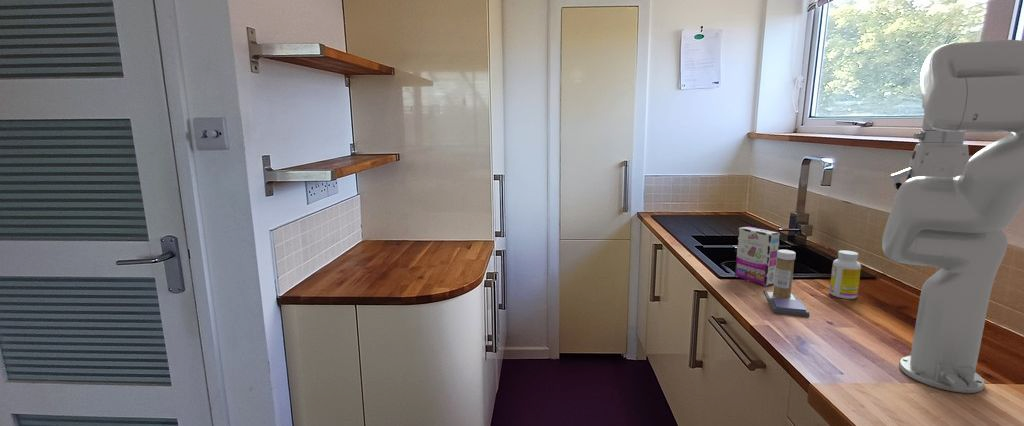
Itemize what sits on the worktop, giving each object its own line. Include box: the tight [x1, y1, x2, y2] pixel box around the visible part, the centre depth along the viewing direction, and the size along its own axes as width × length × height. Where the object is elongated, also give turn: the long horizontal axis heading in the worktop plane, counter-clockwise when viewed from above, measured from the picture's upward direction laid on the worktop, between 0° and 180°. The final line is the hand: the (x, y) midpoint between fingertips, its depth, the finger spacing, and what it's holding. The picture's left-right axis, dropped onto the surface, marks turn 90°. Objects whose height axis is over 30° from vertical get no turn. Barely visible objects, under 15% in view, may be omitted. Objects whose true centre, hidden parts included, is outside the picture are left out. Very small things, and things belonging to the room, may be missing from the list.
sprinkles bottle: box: [773, 249, 796, 299], centre depth 135 cm, size 5×5×13 cm
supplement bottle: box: [829, 249, 862, 300], centre depth 137 cm, size 7×7×13 cm
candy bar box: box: [734, 226, 781, 287], centre depth 150 cm, size 11×5×16 cm, turn 27°
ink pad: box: [768, 298, 811, 318], centre depth 128 cm, size 8×8×2 cm
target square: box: [763, 289, 799, 302], centre depth 137 cm, size 8×8×1 cm
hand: (930, 211), depth 113 cm, fingers open, 9 cm apart
